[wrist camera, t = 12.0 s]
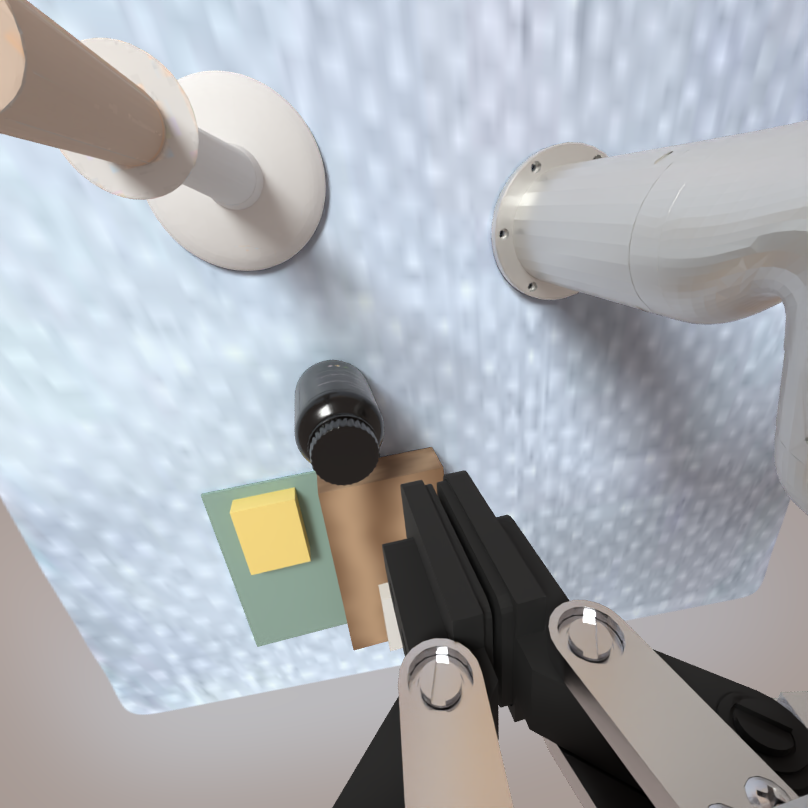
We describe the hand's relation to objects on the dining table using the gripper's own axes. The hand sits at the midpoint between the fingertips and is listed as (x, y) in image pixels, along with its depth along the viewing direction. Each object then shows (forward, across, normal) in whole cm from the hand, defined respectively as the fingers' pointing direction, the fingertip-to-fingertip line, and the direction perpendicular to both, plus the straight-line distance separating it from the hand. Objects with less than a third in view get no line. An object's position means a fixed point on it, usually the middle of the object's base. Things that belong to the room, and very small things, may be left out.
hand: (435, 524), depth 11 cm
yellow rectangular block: (+27, +10, +21) cm, 36 cm away
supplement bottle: (+29, +2, +8) cm, 30 cm away
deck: (+29, -1, +27) cm, 40 cm away
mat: (+29, +10, +27) cm, 41 cm away
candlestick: (+29, +6, -10) cm, 32 cm away
